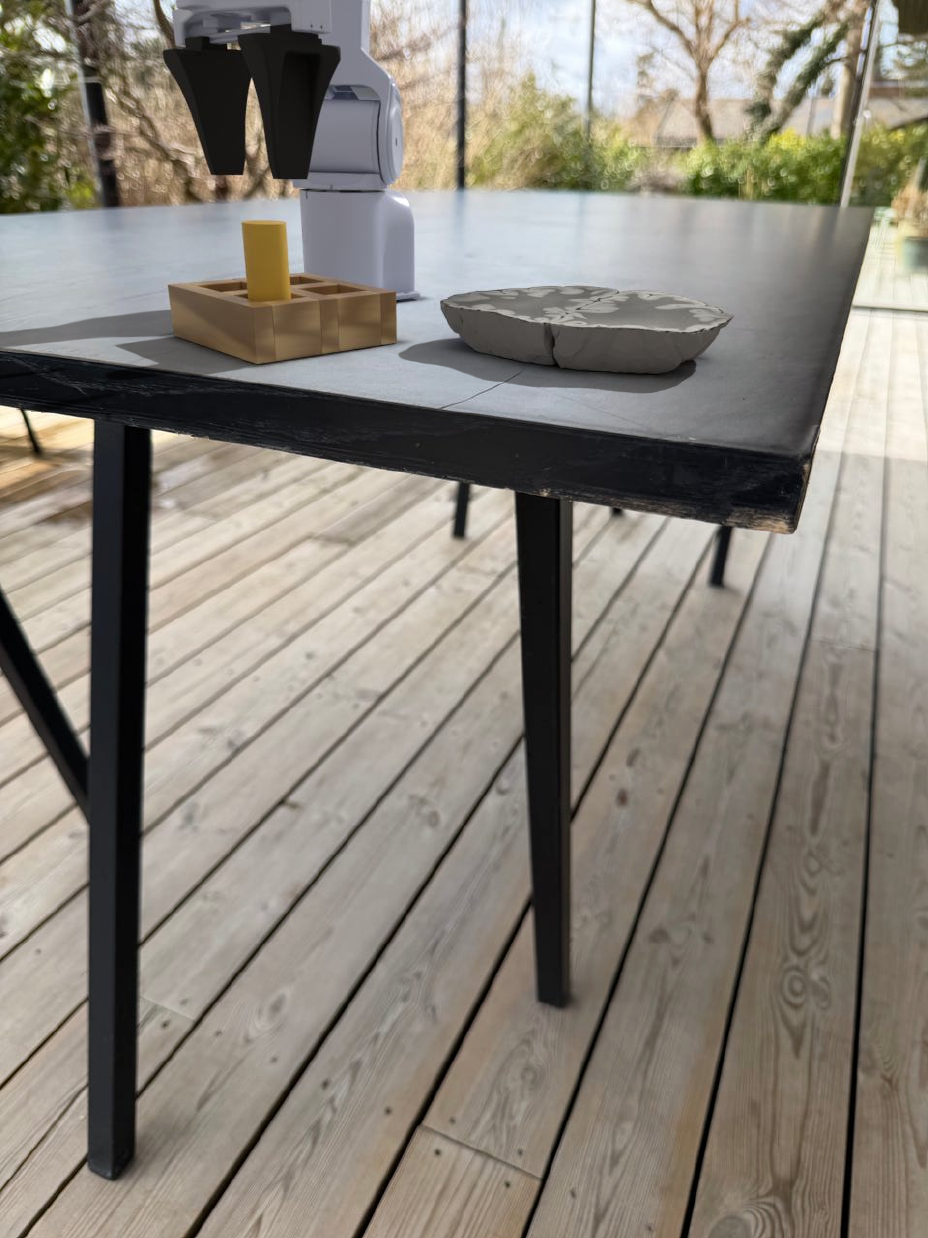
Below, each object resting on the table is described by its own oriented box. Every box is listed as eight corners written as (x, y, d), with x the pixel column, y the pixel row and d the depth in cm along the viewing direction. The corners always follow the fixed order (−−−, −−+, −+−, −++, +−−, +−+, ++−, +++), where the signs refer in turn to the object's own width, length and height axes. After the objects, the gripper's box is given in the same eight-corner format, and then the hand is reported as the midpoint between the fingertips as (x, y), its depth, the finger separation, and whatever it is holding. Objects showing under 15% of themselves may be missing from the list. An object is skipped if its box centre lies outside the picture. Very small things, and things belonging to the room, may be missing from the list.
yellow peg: (280, 343, 64) (271, 219, 60) (302, 350, 62) (294, 222, 58) (244, 348, 62) (233, 221, 58) (266, 355, 60) (256, 224, 57)
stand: (307, 319, 72) (304, 272, 71) (397, 342, 65) (396, 291, 63) (173, 335, 65) (167, 284, 64) (257, 364, 58) (252, 307, 56)
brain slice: (749, 342, 68) (756, 299, 66) (695, 390, 54) (702, 339, 53) (507, 316, 75) (509, 277, 74) (407, 353, 62) (406, 307, 60)
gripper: (113, -86, 53) (145, 172, 59) (240, -133, 44) (262, 180, 50) (222, -66, 58) (241, 173, 64) (359, -105, 48) (366, 181, 54)
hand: (257, 177), depth 57 cm, fingers open, 7 cm apart
